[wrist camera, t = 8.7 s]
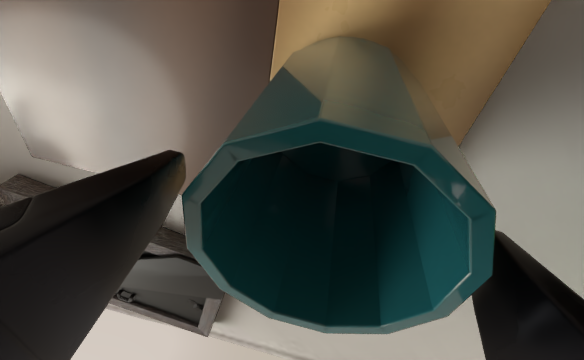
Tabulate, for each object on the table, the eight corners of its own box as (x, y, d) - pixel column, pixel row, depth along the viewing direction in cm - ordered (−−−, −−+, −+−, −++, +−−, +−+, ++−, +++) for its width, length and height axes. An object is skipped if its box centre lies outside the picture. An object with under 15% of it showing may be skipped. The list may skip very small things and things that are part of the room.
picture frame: (238, 255, 22) (17, 174, 21) (230, 276, 21) (-9, 190, 20) (213, 322, 31) (52, 266, 29) (206, 341, 29) (35, 282, 28)
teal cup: (451, 58, 11) (594, 185, 4) (384, 192, 15) (405, 356, 9) (276, 18, 11) (169, 82, 5) (259, 161, 15) (191, 297, 9)
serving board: (572, -67, 9) (597, -71, 8) (391, 235, 18) (393, 249, 17) (-109, -208, 10) (-158, -228, 9) (47, 147, 19) (31, 156, 18)
